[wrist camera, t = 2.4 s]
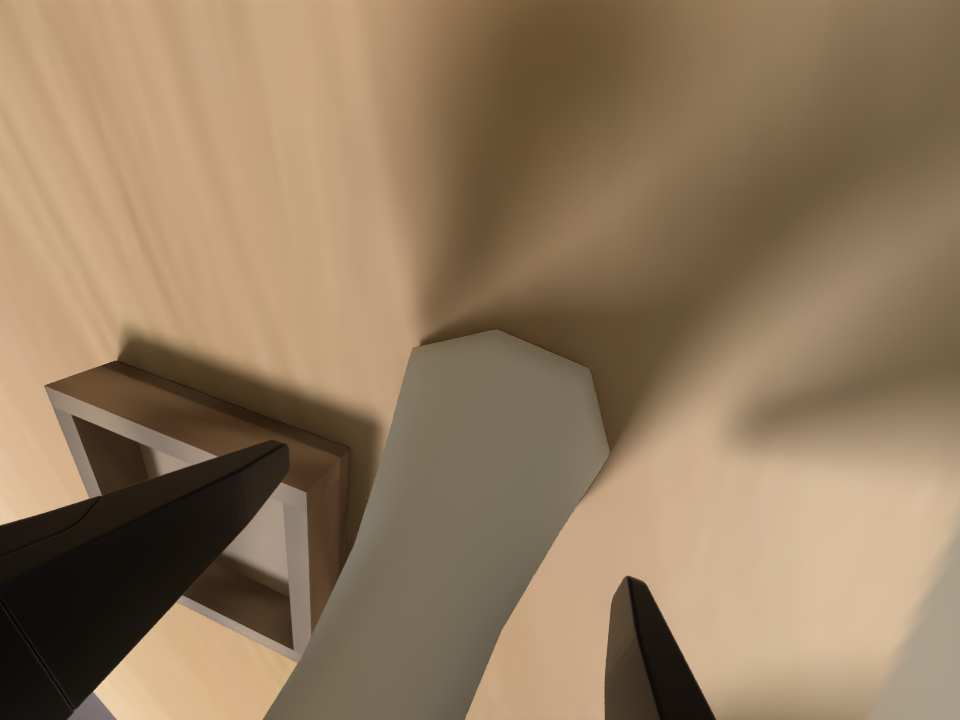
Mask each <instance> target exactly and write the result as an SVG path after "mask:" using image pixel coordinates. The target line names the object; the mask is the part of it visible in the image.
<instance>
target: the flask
mask: <svg viewBox="0 0 960 720" xmlns="http://www.w3.org/2000/svg"><path fill="white" fill-rule="evenodd" d="M609 454H610V450H609V446H608V442H607V438H606V434H605V429H604V425H603V421H602V417H601V413H600V408H599V404H598V400H597V396H596V392H595V388H594V383H593V379H592V375H591V371H590V369H589V368H587V367H585V366H582V365H580V364H578V363H575V362H573V361H571V360H568V359H566V358H564V357H561V356H559V355H556V354H554V353H552V352H549V351H547V350H545V349H542V348H540V347H538V346H535V345H533V344H531V343H528V342H526V341H524V340H521V339H519V338H516V337H514V336H512V335H509V334H507V333H505V332H502V331H500V330H498V329H494V330H490V331H485V332H481V333H476V334H472V335H468V336H463V337H459V338H454V339H450V340H446V341H441V342H437V343H432V344H428V345H423V346H419V347H415V348H413V349H412V352H411V355H410V358H409V362H408V365H407V368H406V372H405V376H404V379H403V383H402V387H401V391H400V394H399V398H398V402H397V406H396V409H395V413H394V417H393V421H392V424H391V428H390V432H389V435H388V438H387V442H386V445H385V448H384V451H383V454H382V458H381V461H380V464H379V467H378V470H377V474H376V477H375V480H374V483H373V486H372V490H371V493H370V496H369V499H368V502H367V506H366V509H365V512H364V515H363V518H362V522H361V525H360V528H359V531H358V534H357V538H356V541H355V544H354V546H353V548H352V550H351V553H350V555H349V557H348V559H347V561H346V563H345V565H344V568H343V570H342V572H341V574H340V576H339V578H338V580H337V582H336V585H335V587H334V589H333V591H332V593H331V595H330V597H329V600H328V602H327V604H326V606H325V608H324V610H323V612H322V615H321V617H320V619H319V621H318V623H317V625H316V627H315V629H314V632H313V634H312V636H311V638H310V640H309V642H308V644H307V647H306V649H305V651H304V653H303V655H302V657H301V659H300V661H299V662H298V664H297V666H296V667H295V669H294V670H293V672H292V674H291V675H290V677H289V678H288V680H287V682H286V683H285V685H284V686H283V688H282V690H281V691H280V693H279V694H278V696H277V698H276V699H275V701H274V702H273V704H272V706H271V707H270V709H269V710H268V712H267V714H266V715H265V717H264V718H263V720H465V717H466V715H467V712H468V710H469V708H470V705H471V703H472V700H473V698H474V696H475V693H476V691H477V688H478V686H479V683H480V681H481V679H482V676H483V674H484V671H485V669H486V667H487V664H488V662H489V659H490V657H491V654H492V652H493V650H494V647H495V645H496V642H497V640H498V638H499V635H500V633H501V630H502V629H503V627H504V625H505V624H506V622H507V620H508V619H509V617H510V615H511V613H512V612H513V610H514V608H515V607H516V605H517V603H518V602H519V600H520V598H521V597H522V595H523V593H524V592H525V590H526V588H527V586H528V585H529V583H530V581H531V580H532V578H533V576H534V575H535V573H536V571H537V570H538V568H539V566H540V565H541V563H542V561H543V559H544V558H545V556H546V554H547V553H548V551H549V549H550V548H551V546H552V544H553V543H554V541H555V539H556V537H557V536H558V534H559V532H560V531H561V529H562V528H563V526H564V525H565V523H566V522H567V520H568V519H569V517H570V515H571V514H572V512H573V511H574V509H575V508H576V506H577V505H578V503H579V502H580V500H581V499H582V497H583V496H584V494H585V493H586V491H587V490H588V488H589V486H590V485H591V483H592V482H593V480H594V479H595V477H596V476H597V474H598V473H599V471H600V469H601V468H602V466H603V464H604V463H605V461H606V459H607V458H608V456H609Z"/></svg>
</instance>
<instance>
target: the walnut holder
mask: <svg viewBox="0 0 960 720" xmlns="http://www.w3.org/2000/svg"><path fill="white" fill-rule="evenodd" d="M44 387H45V389H46V392H47V394H48V397H49V399H50V402H51V404H52V407H53V409H54V411H55V414H56V416H57V419H58V421H59V424H60V426H61V429H62V431H63V434H64V436H65V439H66V441H67V444H68V446H69V449H70V451H71V454H72V456H73V459H74V461H75V464H76V466H77V469H78V471H79V474H80V476H81V479H82V481H83V484H84V486H85V489H86V491H87V493H88V496H89V498H93V497H96V496H103V495H104V494H106V493H109V492H112V491H115V490H118V489H121V488H124V487H127V486H130V485H133V484H136V483H139V482H142V481H145V480H149V479H152V478H155V477H158V476H161V475H164V474H167V473H170V472H173V471H176V470H179V469H182V468H185V467H188V466H191V465H194V464H198V463H201V462H204V461H207V460H210V459H213V458H216V457H219V456H222V455H225V454H228V453H231V452H234V451H237V450H240V449H243V448H246V447H250V446H253V445H256V444H259V443H262V442H265V441H268V440H271V439H276V440H279V441H282V442H284V443H287V444H288V446H289V455H290V469H289V472H288V473H287V475H286V476H285V478H284V479H283V480H282V482H281V483H280V484H279V486H278V487H277V488H276V489H275V491H274V492H273V493H272V495H271V496H270V497H269V499H268V500H267V501H266V502H265V504H264V505H263V506H262V508H261V509H260V510H259V511H258V513H257V514H256V515H255V517H254V518H253V519H252V520H251V521H250V523H249V524H248V525H247V526H246V527H245V528H244V530H243V531H242V532H241V533H240V534H239V535H238V536H237V537H236V538H235V539H234V540H233V541H232V543H231V544H230V545H229V546H228V547H227V548H226V549H225V550H224V551H223V552H222V553H221V554H220V555H219V557H218V558H217V559H216V560H215V561H214V562H213V563H212V564H211V565H210V566H209V567H208V568H207V569H206V570H205V572H204V573H203V574H202V575H201V576H200V577H199V578H198V579H197V580H196V581H195V582H194V583H193V584H192V586H191V587H190V588H189V589H188V590H187V591H186V592H185V593H184V594H183V595H182V596H181V597H180V598H179V600H178V601H177V603H179V604H181V605H183V606H185V607H187V608H189V609H191V610H193V611H195V612H197V613H199V614H201V615H203V616H205V617H207V618H209V619H211V620H213V621H215V622H217V623H219V624H221V625H223V626H225V627H227V628H229V629H231V630H233V631H235V632H237V633H239V634H241V635H243V636H245V637H247V638H249V639H251V640H253V641H255V642H257V643H259V644H261V645H263V646H265V647H267V648H269V649H271V650H273V651H275V652H277V653H279V654H281V655H283V656H285V657H287V658H289V659H291V660H293V661H295V662H297V663H298V662H299V661H300V659H301V657H302V655H303V653H304V651H305V649H306V647H307V644H308V642H309V640H310V638H311V636H312V634H313V632H314V629H315V627H316V625H317V623H318V621H319V619H320V617H321V615H322V612H323V610H324V608H325V606H326V604H327V602H328V600H329V597H330V595H331V593H332V591H333V589H334V587H335V585H336V582H337V580H338V578H339V576H340V574H341V572H342V570H343V568H344V565H345V563H346V536H347V508H348V481H349V453H350V448H347V447H345V446H342V445H339V444H337V443H334V442H331V441H329V440H326V439H323V438H321V437H318V436H315V435H313V434H310V433H307V432H305V431H302V430H299V429H297V428H294V427H291V426H289V425H286V424H283V423H281V422H278V421H275V420H273V419H270V418H267V417H265V416H262V415H259V414H257V413H254V412H251V411H249V410H246V409H243V408H241V407H238V406H236V405H233V404H230V403H228V402H225V401H222V400H220V399H217V398H214V397H212V396H209V395H206V394H204V393H201V392H198V391H196V390H193V389H190V388H188V387H185V386H182V385H180V384H177V383H174V382H172V381H169V380H166V379H164V378H161V377H158V376H156V375H153V374H150V373H148V372H145V371H142V370H140V369H137V368H134V367H132V366H129V365H126V364H124V363H121V362H118V361H113V362H110V363H107V364H104V365H101V366H99V367H96V368H93V369H90V370H87V371H84V372H81V373H79V374H76V375H73V376H70V377H67V378H64V379H62V380H59V381H56V382H53V383H50V384H47V385H44Z"/></svg>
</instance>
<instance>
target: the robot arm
mask: <svg viewBox="0 0 960 720" xmlns="http://www.w3.org/2000/svg"><path fill="white" fill-rule="evenodd" d="M289 469H290V455H289V446H288V444H287V443H284V442H282V441H279V440H276V439H271V440H268V441H265V442H262V443H259V444H256V445H253V446H250V447H246V448H243V449H240V450H237V451H234V452H231V453H228V454H225V455H222V456H219V457H216V458H213V459H210V460H207V461H204V462H201V463H198V464H194V465H191V466H188V467H185V468H182V469H179V470H176V471H173V472H170V473H167V474H164V475H161V476H158V477H155V478H152V479H149V480H145V481H142V482H139V483H136V484H133V485H130V486H127V487H124V488H121V489H118V490H115V491H112V492H109V493H106V494H104V495H103V496H96V497H93V498H90V499H87V500H84V501H81V502H78V503H75V504H71V505H68V506H65V507H62V508H59V509H55V510H52V511H49V512H46V513H42V514H39V515H35V516H32V517H28V518H25V519H21V520H18V521H14V522H11V523H7V524H4V525H0V720H67V719H68V718H69V717H70V716H71V715H72V714H73V713H74V710H75V709H77V708H78V707H79V706H80V705H81V704H82V703H83V702H84V701H85V700H86V699H87V697H88V696H89V695H90V694H91V693H92V692H93V691H94V690H95V689H96V688H97V687H98V686H99V685H100V683H101V682H102V681H103V680H104V679H105V678H106V677H107V676H108V675H109V674H110V673H111V672H112V671H113V669H114V668H115V667H116V666H117V665H118V664H119V663H120V662H121V661H122V660H123V659H124V658H125V657H126V655H127V654H128V653H129V652H130V651H131V650H132V649H133V648H134V647H135V646H136V645H137V644H138V643H139V642H140V640H141V639H142V638H143V637H144V636H145V635H146V634H147V633H148V632H149V631H150V630H151V629H152V628H153V626H154V625H155V624H156V623H157V622H158V621H159V620H160V619H161V618H162V617H163V616H164V615H165V614H166V612H167V611H168V610H169V609H170V608H171V607H172V606H173V605H174V604H175V603H176V602H177V601H178V600H179V598H180V597H181V596H182V595H183V594H184V593H185V592H186V591H187V590H188V589H189V588H190V587H191V586H192V584H193V583H194V582H195V581H196V580H197V579H198V578H199V577H200V576H201V575H202V574H203V573H204V572H205V570H206V569H207V568H208V567H209V566H210V565H211V564H212V563H213V562H214V561H215V560H216V559H217V558H218V557H219V555H220V554H221V553H222V552H223V551H224V550H225V549H226V548H227V547H228V546H229V545H230V544H231V543H232V541H233V540H234V539H235V538H236V537H237V536H238V535H239V534H240V533H241V532H242V531H243V530H244V528H245V527H246V526H247V525H248V524H249V523H250V521H251V520H252V519H253V518H254V517H255V515H256V514H257V513H258V511H259V510H260V509H261V508H262V506H263V505H264V504H265V502H266V501H267V500H268V499H269V497H270V496H271V495H272V493H273V492H274V491H275V489H276V488H277V487H278V486H279V484H280V483H281V482H282V480H283V479H284V478H285V476H286V475H287V473H288V472H289ZM605 720H716V718H715V716H714V714H713V712H712V710H711V708H710V706H709V704H708V702H707V701H706V699H705V697H704V695H703V693H702V691H701V689H700V687H699V685H698V683H697V681H696V679H695V677H694V675H693V673H692V671H691V670H690V668H689V666H688V664H687V662H686V660H685V658H684V656H683V654H682V652H681V650H680V648H679V646H678V644H677V642H676V640H675V639H674V637H673V635H672V633H671V631H670V629H669V627H668V625H667V623H666V621H665V619H664V617H663V615H662V613H661V611H660V609H659V608H658V606H657V604H656V602H655V600H654V598H653V596H652V594H651V592H650V590H649V588H648V586H647V585H646V583H645V582H643V581H642V580H639V579H636V578H634V577H631V576H626V577H624V579H623V580H622V582H621V584H620V586H619V587H618V589H617V591H616V592H615V594H614V596H613V599H612V603H611V611H610V623H609V634H608V646H607V657H606V668H605Z"/></svg>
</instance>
